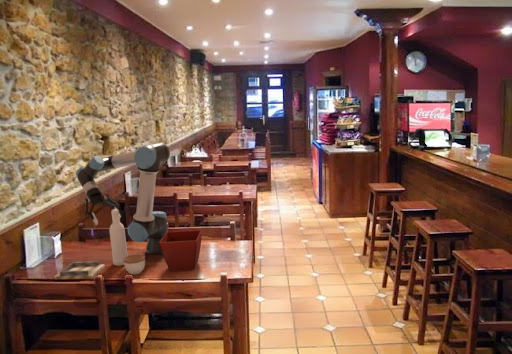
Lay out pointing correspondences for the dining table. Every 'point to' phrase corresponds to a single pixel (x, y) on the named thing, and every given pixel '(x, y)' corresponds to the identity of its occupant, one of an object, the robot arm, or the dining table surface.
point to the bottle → (117, 239)
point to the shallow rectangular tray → (80, 270)
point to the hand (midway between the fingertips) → (108, 220)
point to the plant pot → (181, 249)
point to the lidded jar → (134, 263)
